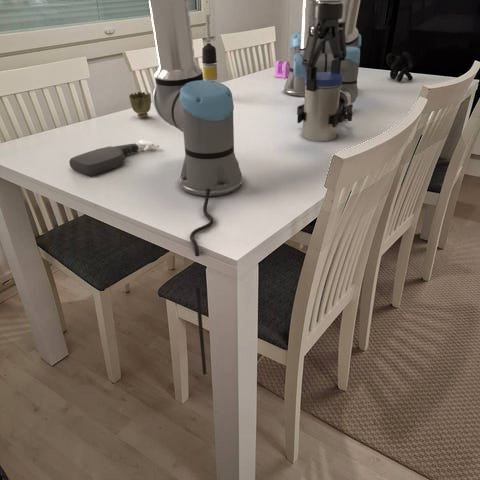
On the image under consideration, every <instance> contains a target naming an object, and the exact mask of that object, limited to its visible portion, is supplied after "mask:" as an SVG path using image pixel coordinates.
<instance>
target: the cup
mask: <svg viewBox="0 0 480 480" xmlns="http://www.w3.org/2000/svg"><path fill="white" fill-rule="evenodd" d="M128 98H129V101H130V105H131V108H132V110H133V112H134V113H136V115H137V117H138V118H139V119H145V118H147V117H148V115H149V112H150V111H151V105H152V93H150V92H149V91H148V92H147V94H146V92H145V91H143V92H141V91H138V92H137V93H136V92H134V93H129V95H128Z"/></svg>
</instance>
